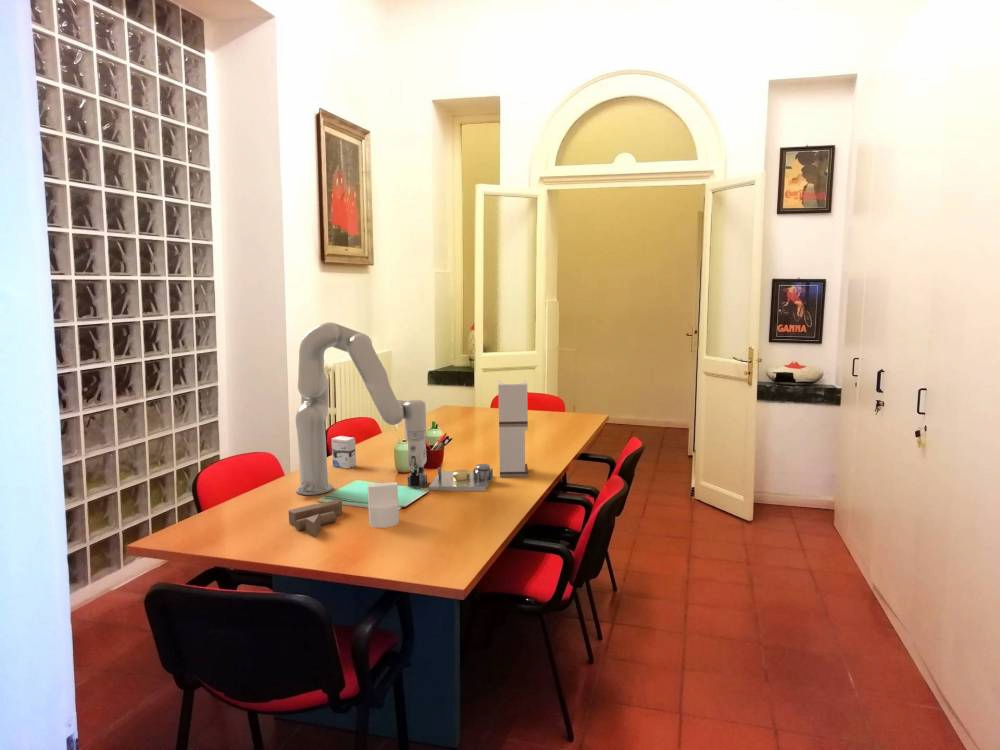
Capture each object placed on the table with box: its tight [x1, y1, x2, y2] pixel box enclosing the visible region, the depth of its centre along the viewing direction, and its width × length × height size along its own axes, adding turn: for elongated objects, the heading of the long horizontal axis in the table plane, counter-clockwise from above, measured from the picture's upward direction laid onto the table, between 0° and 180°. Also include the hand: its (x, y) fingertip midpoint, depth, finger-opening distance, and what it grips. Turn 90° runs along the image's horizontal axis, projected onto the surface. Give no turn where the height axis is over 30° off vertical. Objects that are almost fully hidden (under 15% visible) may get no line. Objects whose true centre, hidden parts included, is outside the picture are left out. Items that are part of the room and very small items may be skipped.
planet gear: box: [406, 470, 428, 489], centre depth 251 cm, size 7×7×5 cm
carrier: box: [428, 463, 494, 492], centre depth 254 cm, size 20×22×6 cm
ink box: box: [331, 435, 357, 469], centre depth 279 cm, size 8×5×12 cm, turn 62°
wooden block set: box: [288, 499, 343, 538], centre depth 212 cm, size 17×6×18 cm
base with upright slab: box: [367, 481, 400, 529], centre depth 212 cm, size 9×9×12 cm
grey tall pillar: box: [497, 379, 529, 478], centre depth 264 cm, size 11×11×35 cm
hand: (417, 482), depth 252 cm, fingers closed on planet gear, 7 cm apart
